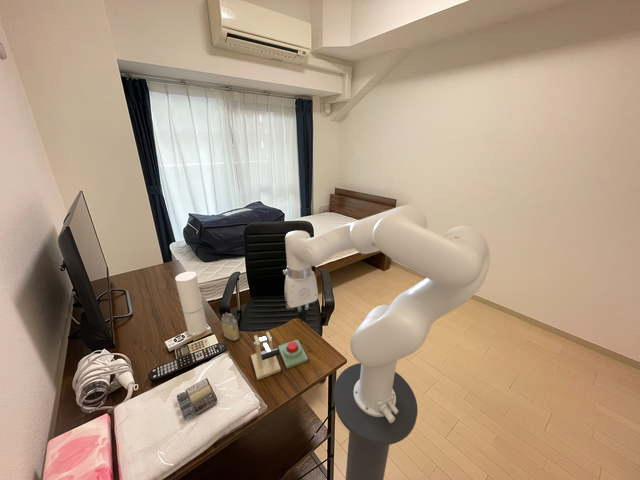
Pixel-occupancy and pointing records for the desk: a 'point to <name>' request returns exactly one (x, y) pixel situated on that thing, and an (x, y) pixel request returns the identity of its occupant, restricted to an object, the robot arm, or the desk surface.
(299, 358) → the control box
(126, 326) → the desk surface
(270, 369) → the cream lever stand
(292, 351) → the button
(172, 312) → the desk surface
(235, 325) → the yellow grey jar
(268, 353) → the lever
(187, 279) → the cylindrical container
